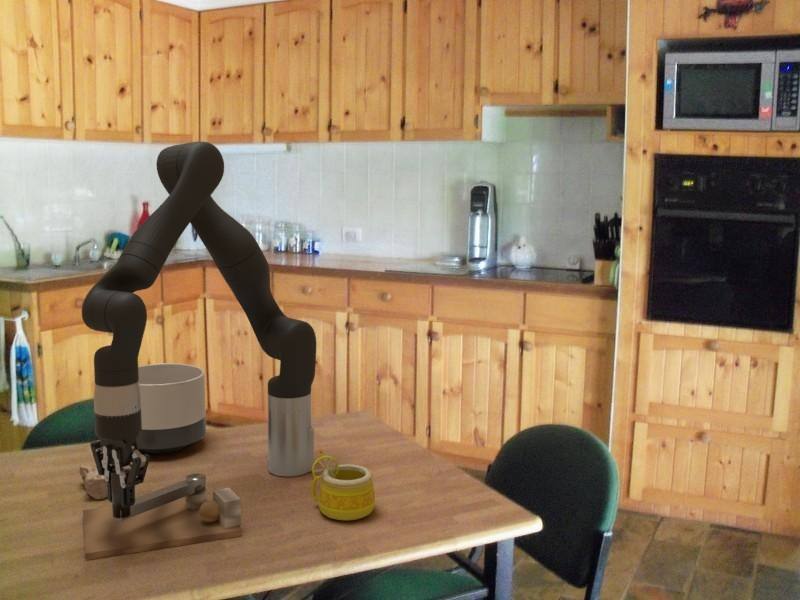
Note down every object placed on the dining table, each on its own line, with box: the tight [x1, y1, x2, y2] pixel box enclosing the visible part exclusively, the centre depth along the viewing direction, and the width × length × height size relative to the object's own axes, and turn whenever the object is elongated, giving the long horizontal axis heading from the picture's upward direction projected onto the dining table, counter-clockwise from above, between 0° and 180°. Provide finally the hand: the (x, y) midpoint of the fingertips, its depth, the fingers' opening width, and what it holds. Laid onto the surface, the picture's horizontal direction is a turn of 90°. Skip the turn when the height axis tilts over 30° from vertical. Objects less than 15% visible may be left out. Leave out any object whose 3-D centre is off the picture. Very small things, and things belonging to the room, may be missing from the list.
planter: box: [137, 362, 207, 455], centre depth 186 cm, size 19×19×18 cm
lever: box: [111, 469, 207, 521], centre depth 146 cm, size 19×4×8 cm, turn 143°
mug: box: [310, 448, 376, 522], centre depth 154 cm, size 13×11×12 cm
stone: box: [79, 465, 108, 500], centre depth 163 cm, size 9×11×5 cm
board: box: [82, 487, 243, 561], centre depth 147 cm, size 26×18×6 cm
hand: (121, 502), depth 140 cm, fingers closed on lever, 3 cm apart
